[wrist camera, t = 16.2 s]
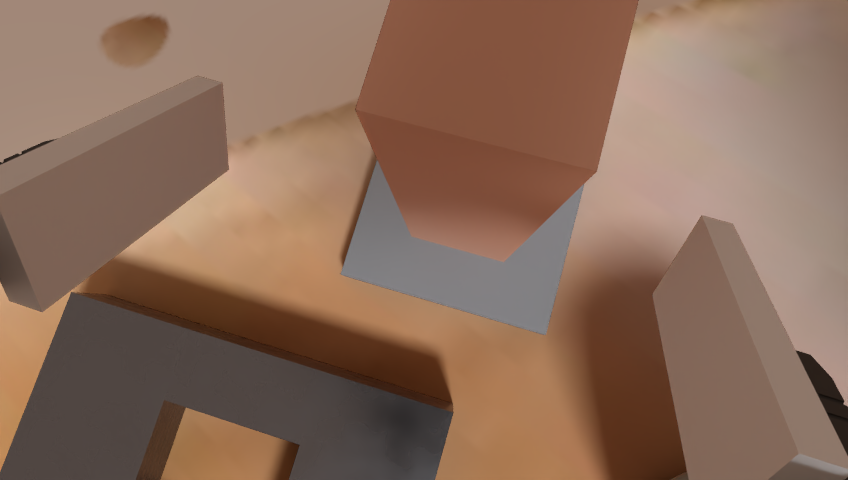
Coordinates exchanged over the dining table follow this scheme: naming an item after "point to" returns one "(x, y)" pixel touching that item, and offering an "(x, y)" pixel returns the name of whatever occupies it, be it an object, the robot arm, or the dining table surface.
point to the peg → (491, 111)
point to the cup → (681, 477)
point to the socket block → (207, 402)
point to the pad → (460, 263)
